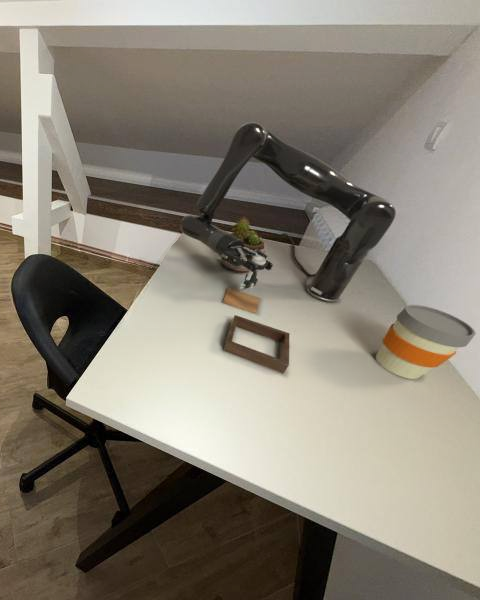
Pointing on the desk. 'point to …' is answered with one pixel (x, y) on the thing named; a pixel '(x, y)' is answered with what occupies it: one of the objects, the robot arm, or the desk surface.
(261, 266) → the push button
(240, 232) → the flowerpot
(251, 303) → the cork mat
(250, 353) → the walnut frame
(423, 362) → the reusable coffee cup
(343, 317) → the desk surface
